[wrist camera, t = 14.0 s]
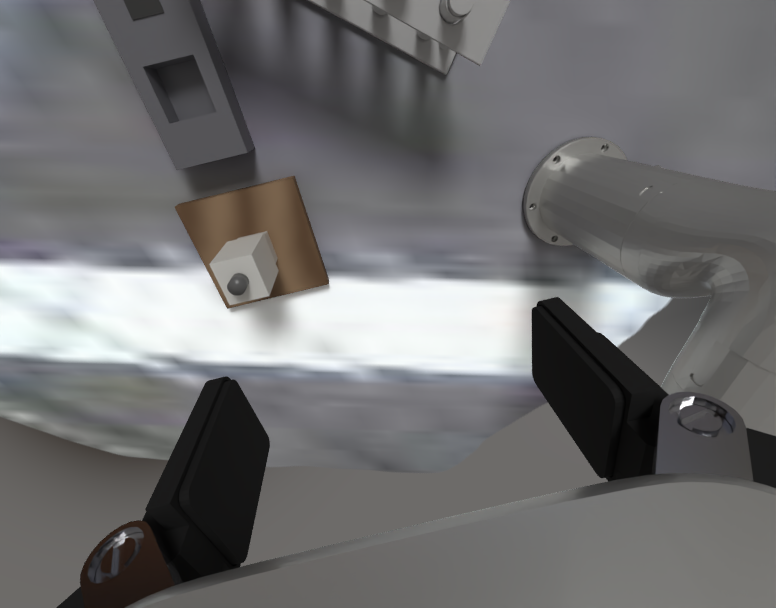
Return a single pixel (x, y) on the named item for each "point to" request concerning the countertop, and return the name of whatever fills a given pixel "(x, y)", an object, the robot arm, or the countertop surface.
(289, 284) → the walnut board
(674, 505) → the robot arm
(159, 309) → the countertop surface
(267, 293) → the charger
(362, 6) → the test tube rack
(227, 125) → the power strip
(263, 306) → the countertop surface
